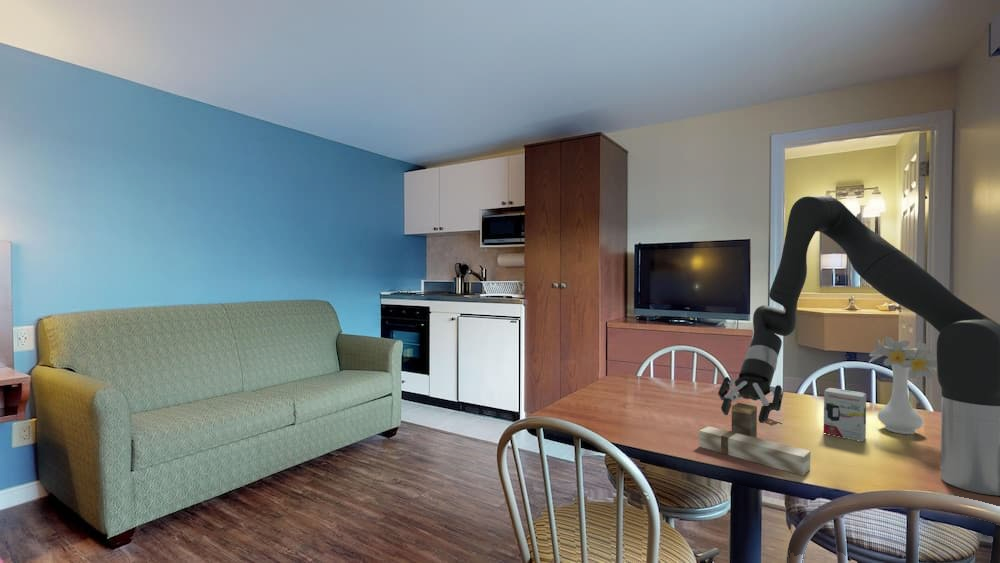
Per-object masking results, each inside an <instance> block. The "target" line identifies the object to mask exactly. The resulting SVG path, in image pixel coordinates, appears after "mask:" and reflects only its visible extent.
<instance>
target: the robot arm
mask: <svg viewBox="0 0 1000 563" xmlns="http://www.w3.org/2000/svg"><path fill="white" fill-rule="evenodd" d="M816 232H820V233H821V234H823V235H826V236H827V237H828V238H829V239H831V240H832V241H833V242H834V243H836V244H837V245H838V246H840V248H841V249H843V251H844V253H845V255H846V256H847V259H848V261H849V263H850V264H851V266H852V268H853V270H854V271H855V272H856V274H858V275H859V277H860V278H861V279H863V280H864V282H866V283H868V285H870V286H871V287H872V288H873V289H875V291H877V292H879V293H880V294H881V295H882V296H884V297H886V298H887V299H889V300H891V301H892V302H894V303H896V304H898V305H900V306H901V307H904V308H905V309H908V310H909V311H911V312H913V313H914V314H915V315H918V316H919V317H920V318H922V319H924V320H925V321H926V322H928V323H929V324H930V326H932V327H933V328H934V329H935V330H936V331H937V332H938V333H939V334H938V336H937V339H936V360H937V366H936V369H937V371H936V372H937V380H938V383H939V385H940V389H941V408H940V409H941V422H940V425H941V426H940V427H941V430H940V435H941V436H940V479H941V480H942V481H943V482H944V483H946V484H949V485H951V486H953V487H955V488H958V489H961V490H965V491H968V492H972V493H977V494H983V495H989V496H1000V323H999V322H996V321H995V320H993V319H991V318H990V317H988V316H986V315H985V314H983V313H982V312H981V311H979V310H977V309H975V307H973V306H971V305H969V304H968V303H966V302H964V300H962V299H960V298H958V297H957V295H955V294H953V293H952V292H951V291H950V290H949V289H948V288H947V287H945V286H944V285H943V284H942V283H941V282H940V281H938V280H937V279H936V278H935V277H934V276H932V275H931V274H930V273H929V272H928V271H927V270H925V269H924V268H923V267H921V266H920V265H919V264H918V263H917V262H915V261H914V260H913V259H912V258H910V257H909V256H908V255H907V254H905V253H904V252H902V251H901V250H900V249H899V248H897V247H895V246H894V245H893V244H892V243H890V242H889V241H887V240H886V239H884V238H883V237H882V236H881V235H879V234H878V233H876V232H875V231H874V230H872V229H871V228H869V227H868V226H866V225H865V224H864V223H863V222H862V221H861V220H860V219H859V218H858V217H857V216H856V215H854V213H853V212H851V210H850V209H849V208H848V207H847V206H846V205H845V204H843V203H842V202H841V201H840V199H839V200H838V198H835V197H832V196H829V195H806V196H803V197H800V198H799V199H798V200H796V201H795V202H794V204H793V205H792V206H791V208H790V212H789V215H788V221H787V226H786V231H785V237H784V241H783V242H784V243H783V246H782V247H783V248H782V252H781V257H780V262H779V265H778V268H777V271H776V274H775V277H774V279H773V282H772V285H771V288H770V291H769V292H768V294H769V295H768V298H770V299H771V300H772V301H773V302H774V303H777V304H778V305H780V306H782V307H783V308H784V310H783V309H779V308H776V307H772V306H769V305H764V304H763V305H760V306H759V307H757V308H756V309H755V311H754V312H753V316H752V326H753V334H752V335H753V336H752V340H751V343H750V345H749V348H748V350H747V352H746V355H745V357H744V359H743V362H742V364H741V369H740V371H739V374H738V378H737V379H736V380H733V379H730V378H729V377H728V376H726V377H725V378H724V377H723V378H724V379H723V381H722V383H721V385H720V388H719V389H718V392H717V394H718V396H719V399H720V400H722V403H721V408H720V409H721V411H722V413H723V415H724V416H728V415H729V413H730V409H731V408H732V403H733V402H735V401H739V400H740V399H742V398H743V399H745V400H752V401H758V400H759V401H760V402H761V404H762V405H761V408H760V412H759V415H758V417H757V420H758V421H759V423H760V424H764V421H765V422H766V421H767V419H768V418H769V416H770V412H771V411H776V412H779V411H780V410H781V406H782V400H783V396H784V391H783V389H782V386H781V385H779V384H778V385H776V386H771V384H772V383H773V378H774V375H775V371H776V369H777V365H778V358H779V354H780V351H781V349H782V344H783V343H782V339H781V337H780V336H782V337H787V336H790V335H791V334H793V332H794V331H795V329H796V323H797V321H796V318H797V314H796V313H797V307H798V305H797V304H798V302H799V298H800V295H801V292H802V291H803V288H804V286H805V283H806V279H807V274H808V266H807V265H808V264H807V263H808V262H807V259H808V258H807V255H808V250H809V246H810V243H811V241H812V239H813V237H814V235H815V234H816ZM730 389H731V390H730ZM770 393H772V395H773V398H772V401H771V402H769V401H768V400H767V398H766V396H767V395H768V394H770Z"/></svg>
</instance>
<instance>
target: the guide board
mask: <svg viewBox="0 0 1000 563" xmlns="http://www.w3.org/2000/svg"><path fill="white" fill-rule="evenodd" d="M698 431H699V433H698V434H699V435H698V436H699V437H698V438H699V440H698V442H699V444H698V445H699V447H700V448H703V449H707V450H709V451H714V452H717V453H721V454H723V455H727V456H731V457H734V458H738V459H742V460H745V461H749V462H753V463H756V464H760V465H764V466H766V467H771V468H774V469H777V470H782V471H784V470H785V472H789V473H792V474H795V475H799V476H802V477H804V476H805V475H806V474H807V473H808V472H809V471H810V470H811V450H808V449H804V448H799V447H796V446H792V445H787V444H784V443H779V442H775V441H772V440H771V441H770V440H767V439H763V438H758V437H757V438H755V437H751V436H747V435H743V434H738V433H736V432H732V430H726V429H720V428H717V427H713V426H708V425H707V426H705V427H704V428H702V429H700V430H698ZM809 469H810V470H809ZM808 470H809V471H808ZM806 472H807V473H806Z"/></svg>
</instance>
